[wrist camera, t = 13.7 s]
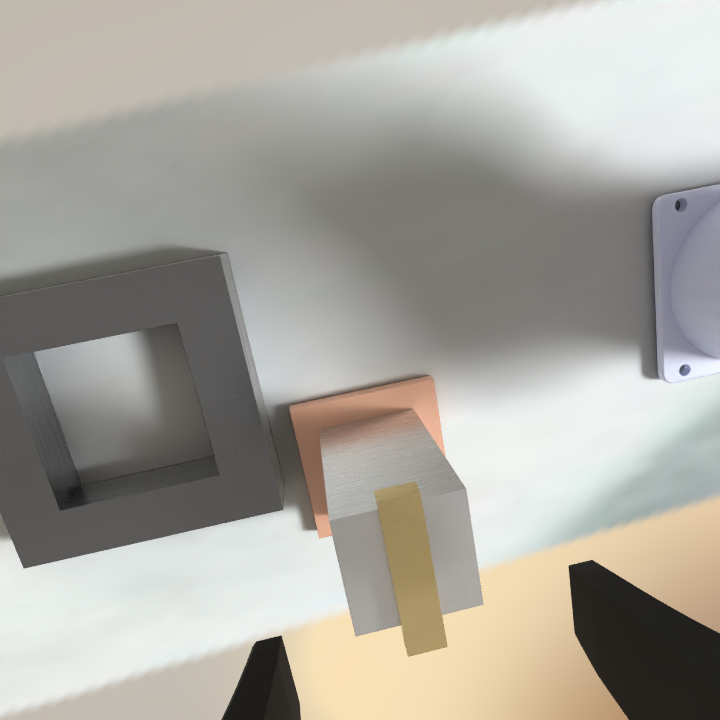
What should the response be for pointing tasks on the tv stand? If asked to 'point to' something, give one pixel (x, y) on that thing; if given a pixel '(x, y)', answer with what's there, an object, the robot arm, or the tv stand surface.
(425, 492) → the steel key
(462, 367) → the tv stand surface
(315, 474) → the terracotta pad
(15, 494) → the charcoal socket
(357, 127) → the tv stand surface
